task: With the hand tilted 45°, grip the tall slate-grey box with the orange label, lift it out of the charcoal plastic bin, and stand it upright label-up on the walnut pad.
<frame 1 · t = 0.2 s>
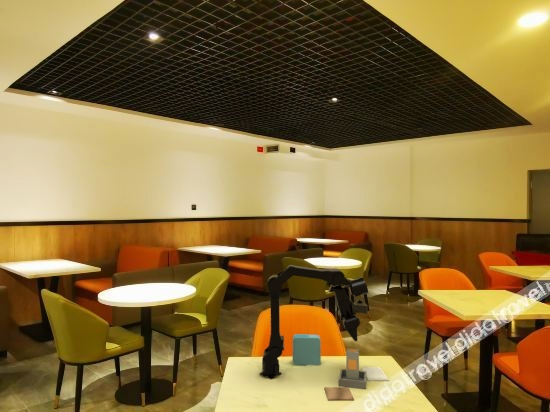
hand: (354, 337, 156), 15 cm above the table, tool tilted 15°, fingers open, 9 cm apart
walnut pad: (338, 395, 139), on the table
parts bin: (352, 383, 149), on the table
labelled box: (352, 382, 149), resting on parts bin
hard drive: (374, 377, 156), on the table
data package: (306, 364, 169), on the table
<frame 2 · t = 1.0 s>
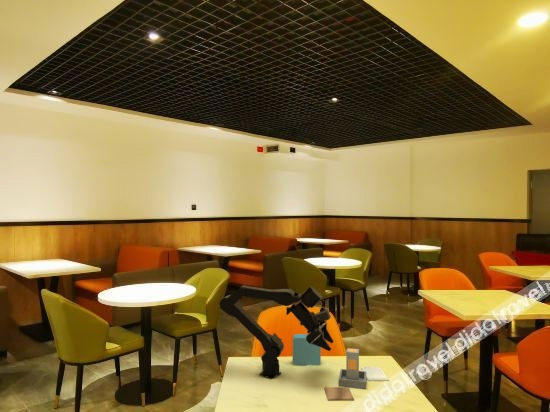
hand: (331, 346, 152), 13 cm above the table, tool tilted 45°, fingers open, 9 cm apart
nothing on the table moved.
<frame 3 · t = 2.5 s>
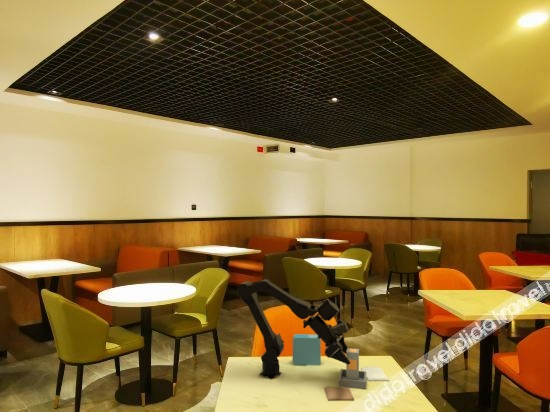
hand: (350, 359, 150), 9 cm above the table, tool tilted 45°, fingers open, 9 cm apart
nothing on the table moved.
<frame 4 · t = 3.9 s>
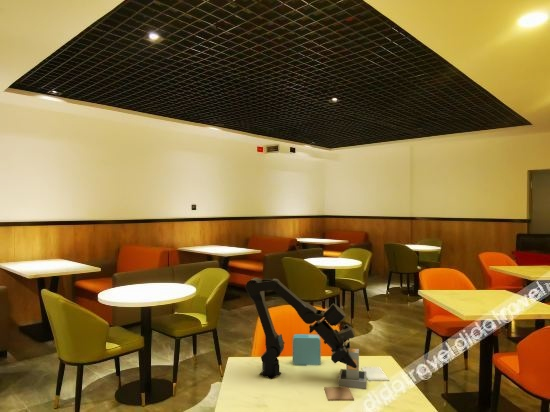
hand: (356, 364, 149), 7 cm above the table, tool tilted 45°, fingers closed on labelled box, 5 cm apart
labelled box: (352, 382, 149), resting on parts bin, touching gripper
everything else where it was.
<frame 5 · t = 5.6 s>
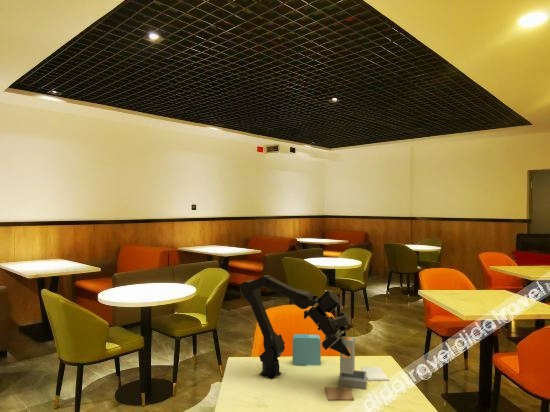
hand: (351, 353, 144), 13 cm above the table, tool tilted 45°, fingers closed on labelled box, 5 cm apart
labelled box: (347, 371, 144), point 7 cm above the table, touching gripper
everything else where it was.
when the fingers open (9 cm above the table, at t = 7.6 s): labelled box stays where it is, resting on walnut pad.
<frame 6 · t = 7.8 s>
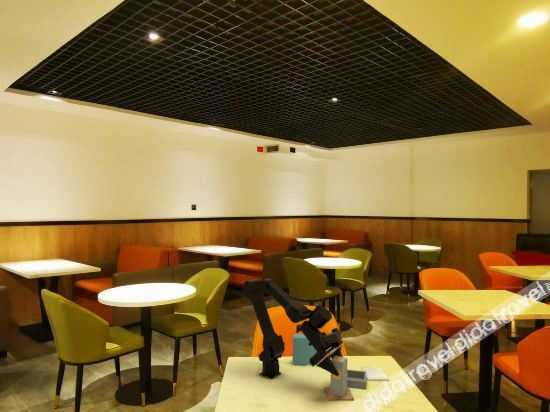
hand: (342, 371, 138), 9 cm above the table, tool tilted 45°, fingers open, 7 cm apart
labelled box: (339, 392, 139), point 1 cm above the table, touching walnut pad
everything else where it was.
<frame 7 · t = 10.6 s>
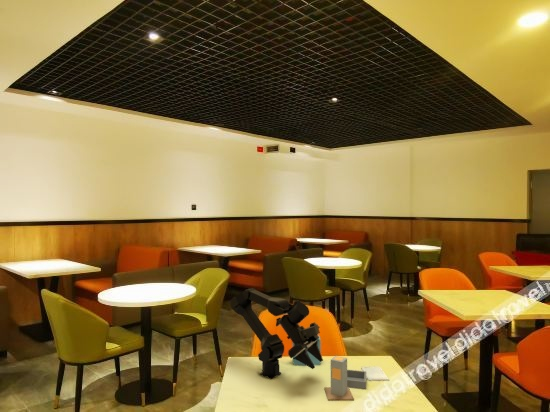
hand: (318, 364, 144), 9 cm above the table, tool tilted 40°, fingers open, 9 cm apart
nothing on the table moved.
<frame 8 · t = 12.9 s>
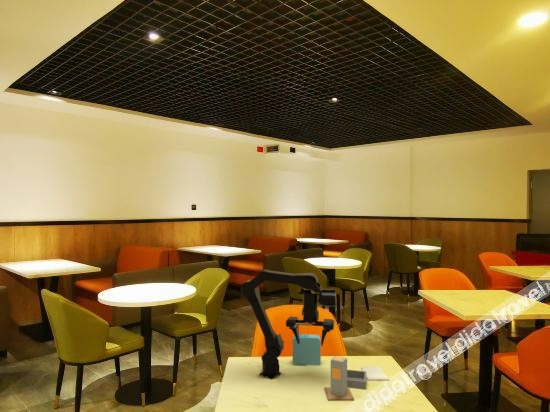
hand: (310, 344, 154), 13 cm above the table, tool pointing down, fingers open, 9 cm apart
nothing on the table moved.
at the end: labelled box 0.2 cm off-centre on the walnut pad, point 1.0 cm above the walnut pad's base; labelled box tilted 0°; the gripper is holding nothing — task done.
